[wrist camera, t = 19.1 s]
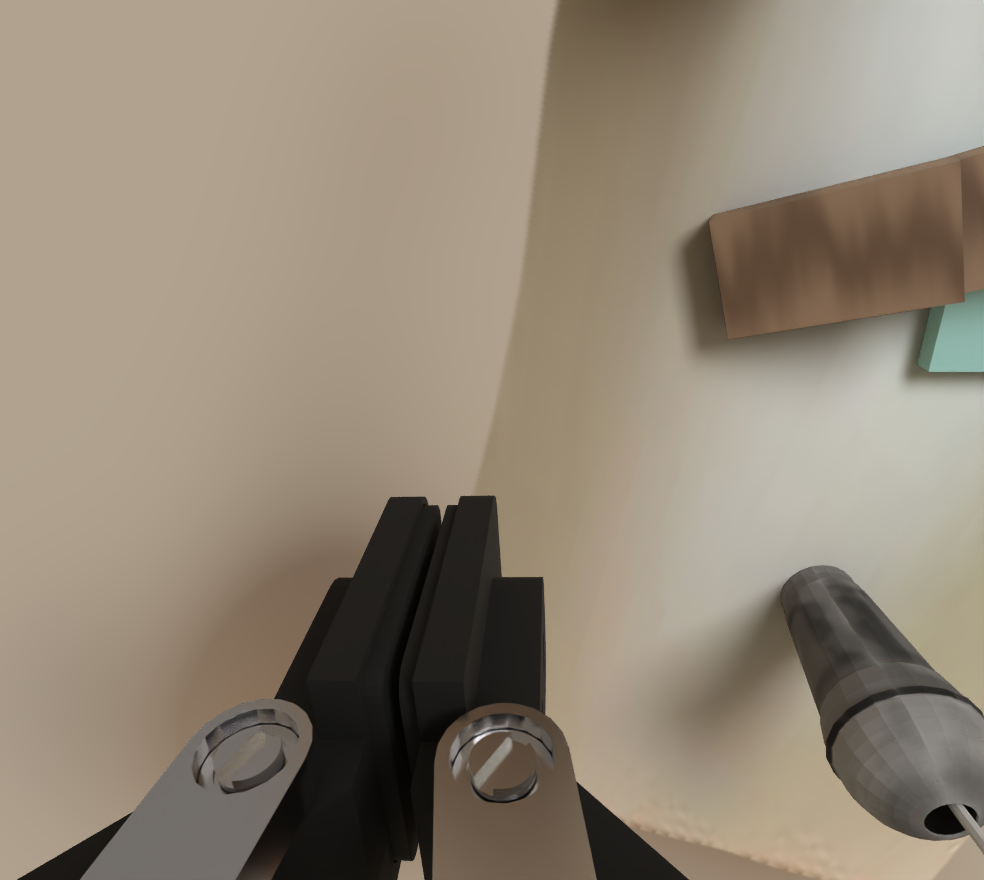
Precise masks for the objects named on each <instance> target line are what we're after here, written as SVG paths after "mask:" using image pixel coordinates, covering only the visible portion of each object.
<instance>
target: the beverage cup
mask: <svg viewBox="0 0 984 880" xmlns="http://www.w3.org/2000/svg"><path fill="white" fill-rule="evenodd" d="M781 604H782V606H783V608H784V612H785V615H786V621H787V624H788V627H789V630H790V633H791V636H792V638H793V641H794V644H795V647H796V650H797V652H798V655H799V658H800V661H801V664H802V667H803V669H804V672H805V675H806V678H807V681H808V684H809V686H810V689H811V692H812V695H813V698H814V700H815V703H816V706H817V709H818V712H819V715H820V724H821V729H822V734H823V739H824V743H825V746H826V758H827V760H828V762H829V764H830V766H831V768H832V770H833V772H834V773H835V774H836V776H837V777H838V778H839V779H840V780H841V781H842V782H843V784H844V786H845V788H846V789H847V791H848V792H849V793H850V795H851V796H852V797H853V798H854V799H855V800H856V801H857V802H858V803H859V804H860V805H861V806H862V807H863V808H864V809H865V810H866V811H868V812H869V813H870V814H871V815H872V816H874V817H875V818H876V819H877V820H879V821H880V822H882V823H883V824H884V825H886V826H888V827H890V828H892V829H894V830H896V831H899V832H901V833H904V834H906V835H909V836H912V837H915V838H919V839H925V840H932V841H939V840H953V839H957V838H961V837H965V836H967V835H970V836H971V838H972V839H973V840H974V842H975V843H976V844H977V846H978V847H979V848H980V850H981V851H982V852H983V854H984V832H983V831H982V829H981V827H982V826H983V825H984V716H983V713H982V711H981V710H980V709H979V708H978V707H976V706H975V705H974V704H973V703H972V702H971V701H970V700H969V699H968V698H966V697H964V696H963V695H962V694H961V693H960V692H959V691H957V690H956V689H955V688H954V687H953V686H952V685H951V684H950V683H949V682H948V681H946V680H945V679H944V678H943V677H942V676H941V675H940V674H939V673H937V672H935V670H934V669H933V668H932V667H931V666H930V665H929V664H928V663H927V661H926V660H925V659H924V658H923V657H922V656H921V655H920V653H919V652H918V651H917V650H916V649H915V648H914V647H913V646H912V644H911V643H910V642H909V641H908V640H907V639H906V638H905V637H904V635H903V634H902V633H901V632H900V631H899V630H898V629H897V628H896V626H895V625H894V624H893V623H892V622H891V621H890V620H889V619H888V617H887V616H886V615H885V614H884V613H883V612H882V611H881V609H880V608H879V607H878V606H877V605H876V604H875V603H874V602H873V600H872V599H871V598H870V597H869V596H868V595H867V594H866V593H865V591H863V590H862V589H861V588H860V587H859V586H858V585H857V584H856V583H854V582H853V580H852V579H851V577H849V576H848V575H847V574H846V573H845V572H844V571H842V570H840V569H838V568H835V567H831V566H814V567H809V568H807V569H804V570H801V571H799V572H798V573H796V574H795V575H794V576H792V577H791V578H790V579H789V580H788V582H787V583H786V584H785V585H784V587H783V590H782V593H781Z"/></svg>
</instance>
